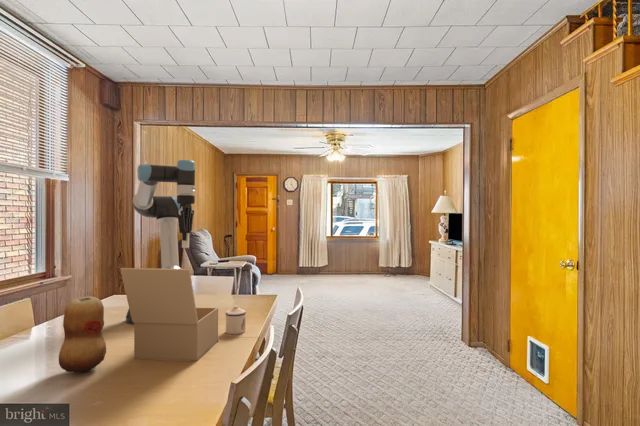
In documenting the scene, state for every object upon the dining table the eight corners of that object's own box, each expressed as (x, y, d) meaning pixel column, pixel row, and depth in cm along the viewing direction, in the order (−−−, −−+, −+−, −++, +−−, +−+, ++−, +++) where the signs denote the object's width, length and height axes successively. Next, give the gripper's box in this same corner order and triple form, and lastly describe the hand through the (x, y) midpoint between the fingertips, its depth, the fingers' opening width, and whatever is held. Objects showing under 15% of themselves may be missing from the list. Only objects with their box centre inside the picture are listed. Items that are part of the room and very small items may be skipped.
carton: (134, 359, 142) (134, 321, 142) (163, 339, 164) (163, 306, 164) (197, 361, 140) (197, 322, 140) (218, 341, 162) (218, 307, 162)
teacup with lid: (245, 334, 172) (245, 308, 172) (224, 335, 170) (224, 308, 170) (245, 326, 183) (245, 301, 183) (226, 327, 182) (226, 302, 182)
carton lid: (133, 321, 142) (132, 322, 141) (121, 268, 135) (120, 269, 134) (198, 322, 140) (197, 324, 139) (189, 268, 133) (188, 270, 132)
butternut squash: (71, 383, 121) (71, 304, 122) (51, 374, 129) (51, 299, 129) (114, 368, 133) (114, 296, 133) (93, 360, 140) (94, 292, 140)
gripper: (187, 194, 165) (187, 249, 165) (200, 195, 178) (199, 246, 178) (170, 194, 165) (170, 249, 166) (184, 195, 178) (184, 246, 179)
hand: (185, 247), depth 172 cm, fingers closed
